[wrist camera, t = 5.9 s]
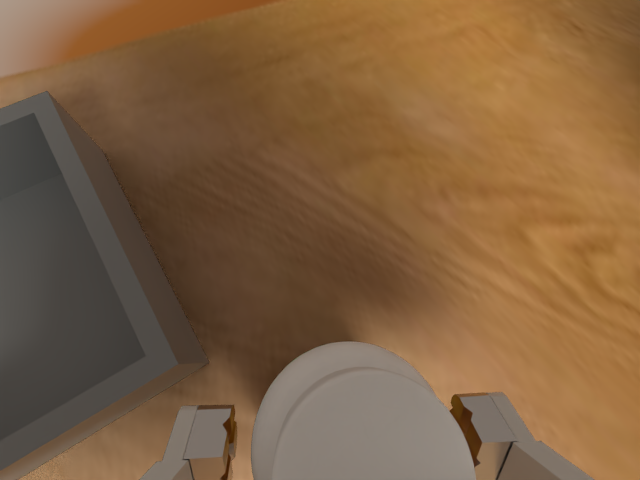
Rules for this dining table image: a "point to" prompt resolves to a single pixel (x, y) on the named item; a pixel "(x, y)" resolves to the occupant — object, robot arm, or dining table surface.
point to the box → (74, 293)
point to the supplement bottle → (356, 421)
